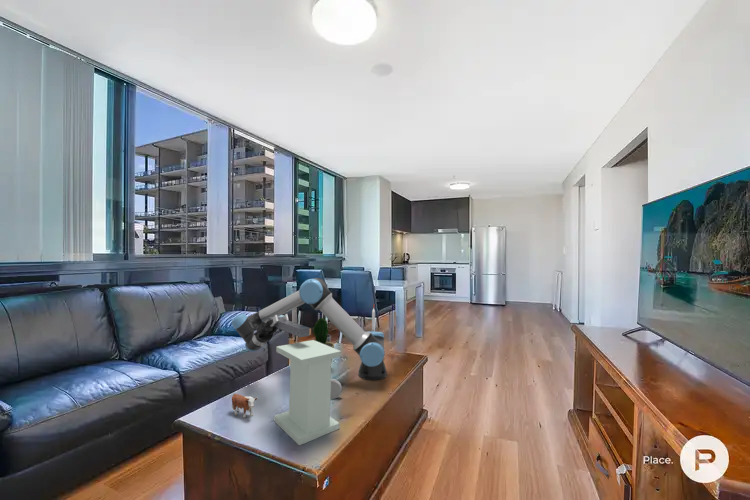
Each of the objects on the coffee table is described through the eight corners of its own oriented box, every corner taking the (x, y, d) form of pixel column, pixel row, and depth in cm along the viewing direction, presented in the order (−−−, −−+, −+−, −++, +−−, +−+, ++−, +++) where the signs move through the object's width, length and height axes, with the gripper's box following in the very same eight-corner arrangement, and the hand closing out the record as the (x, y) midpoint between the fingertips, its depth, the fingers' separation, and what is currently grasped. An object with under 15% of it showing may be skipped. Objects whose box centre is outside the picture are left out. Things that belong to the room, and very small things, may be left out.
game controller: (342, 397, 137) (342, 378, 137) (340, 400, 135) (341, 380, 135) (300, 393, 140) (301, 375, 140) (298, 396, 138) (299, 377, 138)
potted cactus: (307, 367, 174) (309, 314, 175) (334, 367, 175) (336, 314, 176) (302, 377, 159) (303, 319, 160) (332, 377, 159) (333, 320, 160)
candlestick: (382, 362, 185) (383, 304, 186) (364, 362, 184) (365, 304, 185) (380, 356, 196) (381, 302, 197) (363, 357, 195) (364, 301, 196)
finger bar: (268, 323, 138) (268, 317, 138) (277, 322, 141) (278, 316, 141) (300, 337, 116) (300, 329, 116) (310, 335, 119) (311, 327, 119)
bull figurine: (249, 422, 114) (250, 400, 115) (228, 412, 121) (229, 392, 122) (259, 417, 118) (260, 396, 118) (238, 408, 125) (239, 388, 125)
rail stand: (274, 420, 116) (276, 346, 117) (311, 408, 126) (313, 339, 127) (299, 445, 101) (301, 359, 102) (339, 428, 111) (341, 351, 112)
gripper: (281, 340, 151) (301, 323, 136) (245, 346, 140) (263, 328, 125) (278, 325, 154) (298, 307, 139) (243, 330, 143) (261, 311, 128)
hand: (281, 317), depth 132 cm, fingers closed on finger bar, 4 cm apart
